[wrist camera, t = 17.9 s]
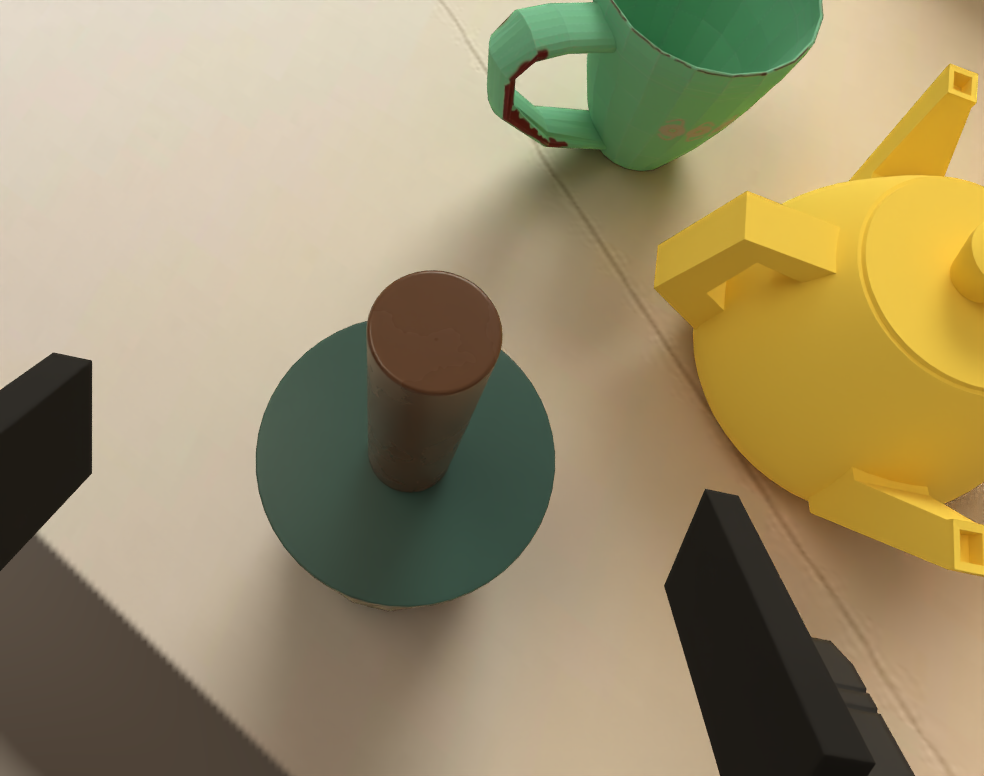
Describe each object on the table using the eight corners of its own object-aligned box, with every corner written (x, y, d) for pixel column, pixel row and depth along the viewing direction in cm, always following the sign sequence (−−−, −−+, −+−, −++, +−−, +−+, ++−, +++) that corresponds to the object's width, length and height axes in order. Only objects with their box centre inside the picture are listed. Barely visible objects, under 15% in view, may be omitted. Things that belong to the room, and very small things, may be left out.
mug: (673, 44, 43) (758, -122, 33) (750, 186, 40) (865, 50, 31) (434, 97, 39) (454, -74, 30) (503, 257, 37) (548, 125, 27)
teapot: (1037, 432, 38) (1315, 345, 27) (806, 611, 33) (1029, 596, 22) (835, 179, 41) (1007, 8, 30) (598, 308, 36) (699, 161, 25)
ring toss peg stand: (274, 633, 20) (190, 627, 11) (250, 344, 23) (164, 135, 13) (571, 581, 22) (723, 537, 13) (519, 318, 25) (613, 115, 15)
